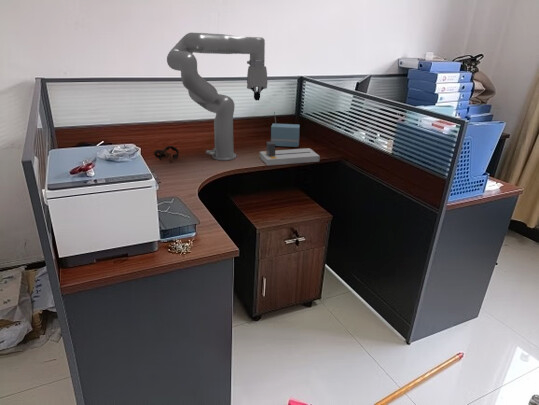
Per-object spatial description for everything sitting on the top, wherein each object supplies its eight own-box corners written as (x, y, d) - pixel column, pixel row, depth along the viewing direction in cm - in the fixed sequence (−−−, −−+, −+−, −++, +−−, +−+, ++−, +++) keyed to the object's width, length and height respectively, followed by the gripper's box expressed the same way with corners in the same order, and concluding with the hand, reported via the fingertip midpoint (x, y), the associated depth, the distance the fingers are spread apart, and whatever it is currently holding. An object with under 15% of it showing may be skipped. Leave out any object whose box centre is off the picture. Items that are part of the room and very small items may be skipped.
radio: (298, 144, 229) (300, 109, 221) (298, 148, 221) (300, 113, 213) (272, 142, 231) (272, 108, 222) (270, 147, 222) (271, 112, 214)
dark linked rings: (172, 156, 204) (177, 145, 199) (177, 169, 199) (182, 157, 194) (150, 154, 197) (154, 142, 192) (154, 167, 192) (159, 155, 187)
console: (266, 165, 193) (267, 159, 191) (259, 157, 205) (259, 151, 204) (319, 161, 200) (319, 155, 199) (309, 153, 212) (309, 148, 211)
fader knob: (269, 155, 196) (269, 144, 193) (266, 153, 200) (266, 141, 198) (275, 155, 197) (275, 143, 194) (272, 152, 201) (272, 141, 198)
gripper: (244, 64, 194) (244, 101, 201) (273, 64, 197) (272, 100, 205) (241, 62, 200) (241, 99, 208) (269, 62, 204) (268, 98, 212)
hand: (256, 99), depth 206 cm, fingers closed
